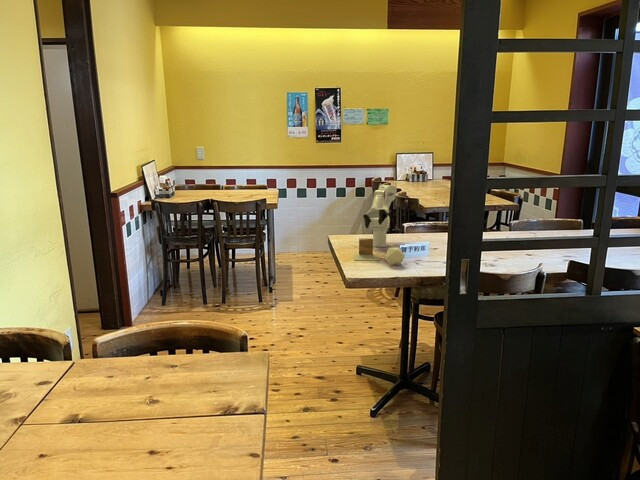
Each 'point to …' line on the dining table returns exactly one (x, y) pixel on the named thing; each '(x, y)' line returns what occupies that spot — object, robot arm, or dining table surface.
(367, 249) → the walnut block
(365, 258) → the mat
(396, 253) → the die
